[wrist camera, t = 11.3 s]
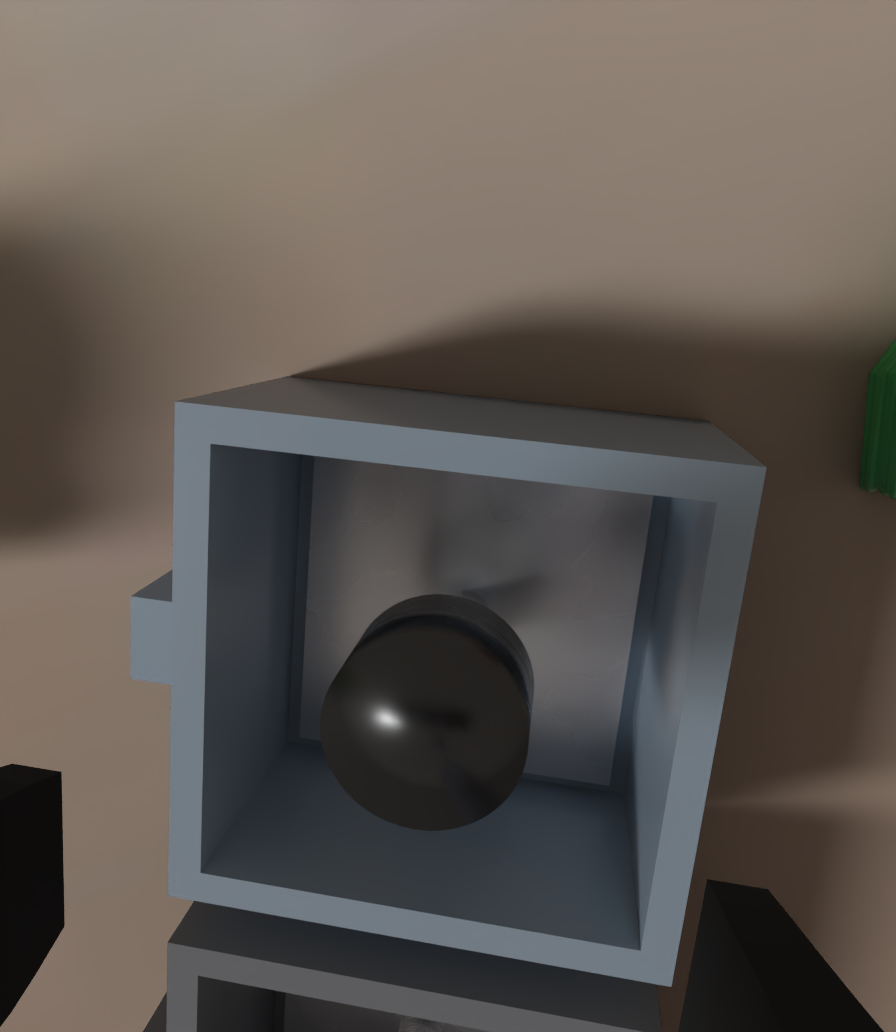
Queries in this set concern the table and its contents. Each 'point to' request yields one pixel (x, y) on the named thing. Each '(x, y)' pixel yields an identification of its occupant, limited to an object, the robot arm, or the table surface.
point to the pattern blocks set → (880, 428)
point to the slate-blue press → (536, 798)
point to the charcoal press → (375, 980)
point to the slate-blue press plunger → (465, 634)
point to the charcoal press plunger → (353, 1018)
